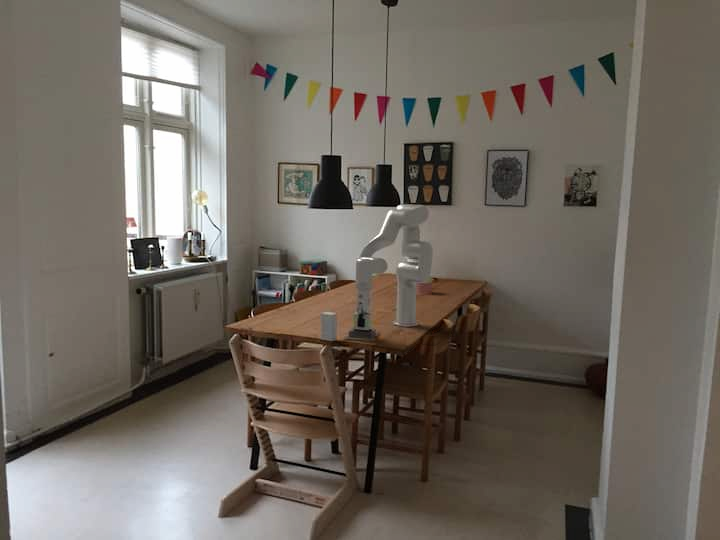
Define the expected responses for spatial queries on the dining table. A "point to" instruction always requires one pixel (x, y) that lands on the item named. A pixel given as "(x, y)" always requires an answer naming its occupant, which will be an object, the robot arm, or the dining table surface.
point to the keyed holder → (362, 335)
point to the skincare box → (329, 326)
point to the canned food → (424, 287)
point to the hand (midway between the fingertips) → (362, 325)
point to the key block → (367, 321)
